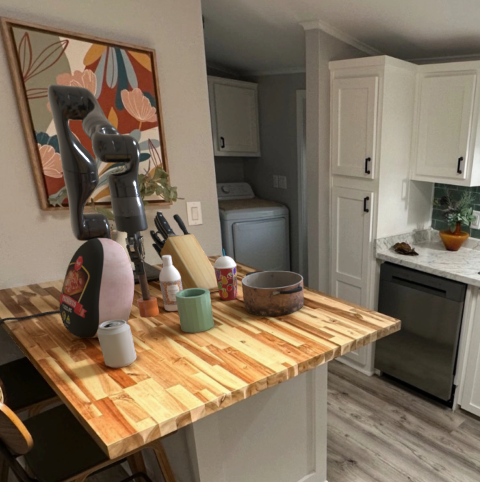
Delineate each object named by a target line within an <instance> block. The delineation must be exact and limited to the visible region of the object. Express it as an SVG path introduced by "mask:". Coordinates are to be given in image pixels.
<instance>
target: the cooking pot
mask: <svg viewBox="0 0 480 482" xmlns="http://www.w3.org/2000/svg"><path fill="white" fill-rule="evenodd" d="M241 289H242V299H243V307H244V309H245V310H246V311H247V312H248V313H250V314H253V315H255V316H262V317H277V316H284V315H285V316H286V315H290V314H293V313H295V312H298V311H299V310H300V309H302V308H303V306H304V304H305V295H304V293H305V292H304V277H303V275H301V274H299V273H297V272H294V271H289V270H288V271H286V270H266V271H265V270H254V271H250V272H246V273H245V276H244V277H243V278H242V279H241Z"/></svg>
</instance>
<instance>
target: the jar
mask: <svg viewBox="0 0 480 482" xmlns="http://www.w3.org/2000/svg"><path fill="white" fill-rule="evenodd" d="M175 296H176V302H177V308H178V311H177V314H178V319H179V325H180V329H181V331H182V332H185V333H201V332H206V331H209V330H210V329H212V328H213V327H214V326H215V321H214V313H213V307H212V306H213V305H212V299H211V292H210V291H209V290H208V289H204V288H190V289H185V290H181V291H179V292H177V293H176V295H175Z"/></svg>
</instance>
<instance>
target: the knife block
mask: <svg viewBox="0 0 480 482" xmlns="http://www.w3.org/2000/svg"><path fill="white" fill-rule="evenodd" d="M172 218H173V220H174V221H175V222H176V224H177V225H178V227H179V229H180V231H182V233H183V234H182V235H180V234H176V233H175V232H174V230H173V228H172V227H171V225H170V223H169V222H168V219H166V217H165V216H164V214H163V211H161V210H157V211H156V215H154V218H153V224H154V226H155V228H156V230H157V231H156V232H155V230H154V229H150V230H149V235H150V237H151V239H152V240H153V242H154V243H151V245H152V247H153V249H154V250H155V252H156V254H157V255H158V257H159V258H160V259H161V260H162V256H164V255H171V259H172V265H173V266H174V267H175V268H176V269H177V271H178V272H179V274H180V276H181V282H182V288H183V290H185V289H190V288H204V289H208V290H209V291H210V293H213V292H214V293H215V292H219V290H218V285H217V280H216V275H215V270H214V265H213V264H212V262H211V261H210V258H208V256H207V254H206V252H205V251H204V250H203V247H202V246H201V244H200V242H199V241H198V239H197V238H196V236H195V235H194V233H190V232H189V231H188V229H187V227H186V224H185V223H184V220H183V219H182V218H181V217H180V215H179V214H178V213H176V214H173V216H172ZM158 234H159V235H160V236H161V237H162V238H163V240H162V239H161V238H160V237H159V236H158Z"/></svg>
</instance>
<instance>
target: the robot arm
mask: <svg viewBox="0 0 480 482" xmlns="http://www.w3.org/2000/svg"><path fill="white" fill-rule="evenodd" d="M47 99H48V104H49V108H50V113H51V116H52V117H51V118H52V121H53V124H54V125H53V126H54V129H55V133H56V137H57V143H58V148H59V157H60V165H61V170H62V175H63V179H64V185H65V189H66V194H67V200H68V209H69V210H68V211H69V221H70V228H71V232H72V235H73V237H74V238H75V239H76V240H77V241H79V242H86V241H88V240H91V239H95V238H107V239H111V240H113V239H112V235H111V234H112V233H111V226H110V222H109V219H108V217H107V216H106V214H104V213H103V212H92V213H91V212H89V213H84V210H85V207H86V205H87V202H88V201H89V199H90V198H91V197H92V196H93V194H94V193H95V191H96V189H97V187H98V186H99V182H100V178H99V170H98V163H97V161H96V160H99V161H100V162H102V163H104V164H105V163H106V164H125V165H124V167H123V169H122V170H119V171H115V172H112V173H109V174H108V175H107V177H106V180H107V186H108V190H109V195H110V202H111V203H110V205H111V210H112V215H113V219H114V224H115V229H116V231H118V232H119V233H126V237H125V240H124V241H125V244H126V246H125V248H126V250H127V253H128V254H127V255H128V257H129V261H130V263H132V264H133V266H134V271H135V275H136V276H138V275H144V274H145V273H147V266H146V261H145V258H146V252H145V250H146V247H145V237H144V235H142V234H141V232H145V231H147V230H148V228H149V226H148V221H147V215H146V209H145V204H144V201H143V198H142V194H141V193H142V192H141V189H140V188H141V187H140V182H139V169H140V160H141V147H140V143H139V142H138V140H137V139H136V138H135V137H134V136H132V135H131V134H122V133H120V131H119V130H118V128H116V127H115V126H114V125H113V123H111V121H110V120H109V119H108V118H107V116H106V114H105V113H104V110H103V108H102V107H101V105H100V103H99V101H98V99H97V97H96V96H95V94H94V93H93V92H92V91H91V90H89V88H86V87H84V86H77V85H68V84H67V85H66V84H49V85H48V87H47ZM69 121H78V122H81V127H82V128H81V129H82V130H83V132H84V134H85V135H86V136H87V138H88V139H89V140H90V141H91V148H92V152H93V153H92V154H93V155H94V156H95V157H94V156H93V155H92V154H91V153H90V151H89V150H88V149H87V148H86V147H85V146H84V145H83V144H82V143H81V142H80V140H79V139H78V138H77V137H76V135H75V134H74V132H73V131H72V130H71V127H70V125H69ZM95 158H96V159H95ZM135 256H138V257H135ZM142 257H143V258H142ZM143 262H144V264H143ZM144 267H145V270H144ZM50 314H60V309H59V310H51V311H44V312H40V313H35V314H30V315H26V316H16V317H15V316H13V317H11V316H10V317H9V316H8V317H3V318H2V319H0V325H1V324H2V323H4V322H6V321H21V320H28V319H31V318H36V317H40V316H46V315H50Z"/></svg>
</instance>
